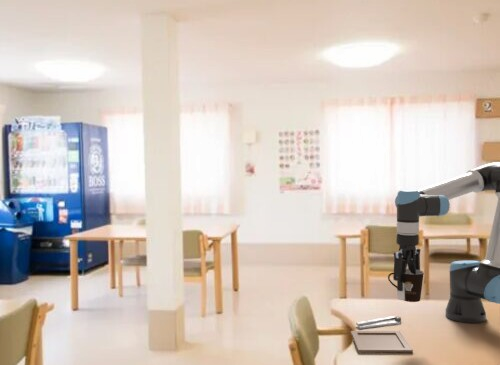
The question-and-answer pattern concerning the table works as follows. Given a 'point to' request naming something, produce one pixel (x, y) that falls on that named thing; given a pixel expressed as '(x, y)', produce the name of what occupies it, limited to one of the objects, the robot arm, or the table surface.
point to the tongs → (370, 323)
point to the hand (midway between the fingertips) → (406, 297)
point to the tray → (381, 342)
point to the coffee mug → (411, 285)
